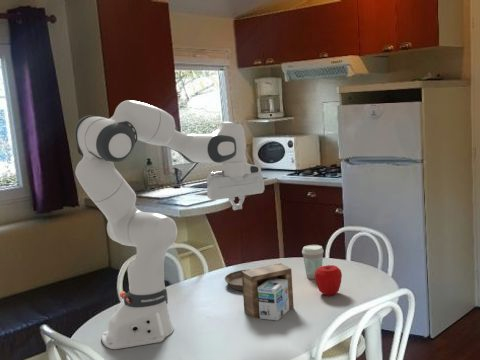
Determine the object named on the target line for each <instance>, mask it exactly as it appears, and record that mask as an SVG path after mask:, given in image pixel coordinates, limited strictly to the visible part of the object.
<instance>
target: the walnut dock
mask: <svg viewBox="0 0 480 360" xmlns="http://www.w3.org/2000/svg"><path fill="white" fill-rule="evenodd" d="M245 270H246V271H242V285H243V291H242V297H243V299H242V300H243V306H244V307H243V309H244V312H245V313H246V314H248V315H249V316H250V317H252V318H253V319H255V318H258V317H259V318H260V314H259V299H258V287H259V286H260V285H262V284H263V283H264V282H265V281H267V280H268V279H269V278H276V279H287V280H288V297H289V310H293V309H294V307H295V306H294V293H293V292H294V291H293V290H294V289H293V288H294V287H293V275H292V268H291V267H289V266H287V265H285V264H283V263H274V264H271V265H266V266H261V267H260V266H259V267H256V268H250V270H248V269H245Z"/></svg>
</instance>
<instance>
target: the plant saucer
mask: <svg viewBox="0 0 480 360" xmlns="http://www.w3.org/2000/svg"><path fill="white" fill-rule="evenodd" d="M250 269H251V268H250ZM250 269H249V268H248V269H242V270H236V271H233V272H230V273H228V274H227V275H226V276H224V280H225V283H227V285H229V287H231V288H233V289H235V290H237V291H242V292H243V285H242V271H246V270H250Z"/></svg>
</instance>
